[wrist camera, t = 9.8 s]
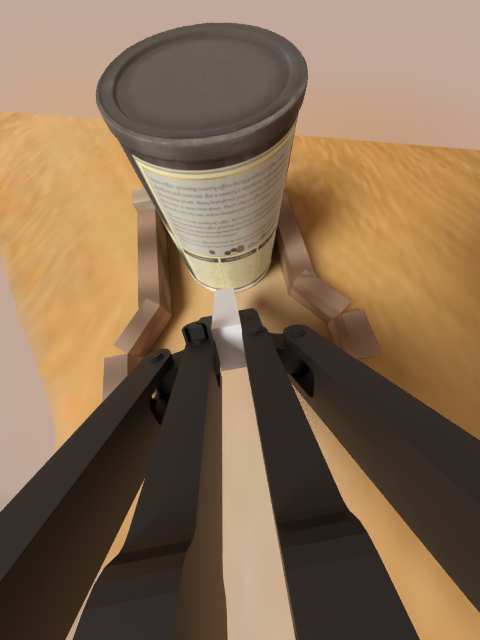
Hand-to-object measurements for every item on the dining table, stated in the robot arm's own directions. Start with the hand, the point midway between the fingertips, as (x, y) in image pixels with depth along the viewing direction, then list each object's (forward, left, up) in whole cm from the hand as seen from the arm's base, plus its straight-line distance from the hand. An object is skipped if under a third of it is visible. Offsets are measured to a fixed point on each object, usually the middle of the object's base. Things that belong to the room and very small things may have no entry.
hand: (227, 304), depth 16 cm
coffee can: (-8, -3, -5) cm, 9 cm away
